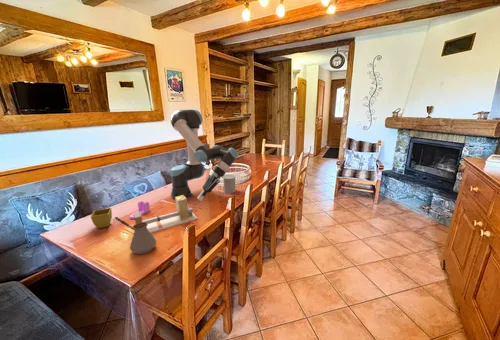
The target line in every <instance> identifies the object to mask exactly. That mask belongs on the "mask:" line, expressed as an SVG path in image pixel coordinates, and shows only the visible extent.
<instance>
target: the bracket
mask: <svg viewBox="0 0 500 340" xmlns="http://www.w3.org/2000/svg"><path fill="white" fill-rule="evenodd" d="M137 207H138V210H136V211H135V212H133V213H132V214H130V215H129V219H131V220H135V217H134V213H138V212H140V214H141V217H142V216H143V215H145V214H147V213H148V212H149V211H151V209H150V202H149V201H143V200H139V201H138V203H137Z"/></svg>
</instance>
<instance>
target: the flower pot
mask: <svg viewBox="0 0 500 340" xmlns="http://www.w3.org/2000/svg"><path fill="white" fill-rule="evenodd" d="M112 217H113V213H112V207H108V208H104V209H103V208H102V209H96V210H93V212H92V213H91V215H90V219H91V221H92V223H93V225H94V226H95V227H96V228H97V229H104V228H107V227H109V226H110V224H111V222H112Z"/></svg>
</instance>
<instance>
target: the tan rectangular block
mask: <svg viewBox="0 0 500 340" xmlns="http://www.w3.org/2000/svg"><path fill="white" fill-rule="evenodd" d="M187 198H188V197H187ZM187 198H186V197H185V196H184V195H181V196H177V197H175V199H174V200H175V206H176V208H175V209H176V212H177V211H178V212H179V216H178V217H179V218H180V220H181V219H185V218H188V217H189V214H188V208H189V206H188V199H187Z"/></svg>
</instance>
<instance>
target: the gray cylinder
mask: <svg viewBox="0 0 500 340" xmlns="http://www.w3.org/2000/svg"><path fill="white" fill-rule="evenodd" d="M222 179H223V193H224V194H227V193H231V194H235V193H236V192H237V191H236V176H235V175H231V174H230V175H224V176H223V177H222ZM235 191H236V192H235ZM234 192H235V193H234Z"/></svg>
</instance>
